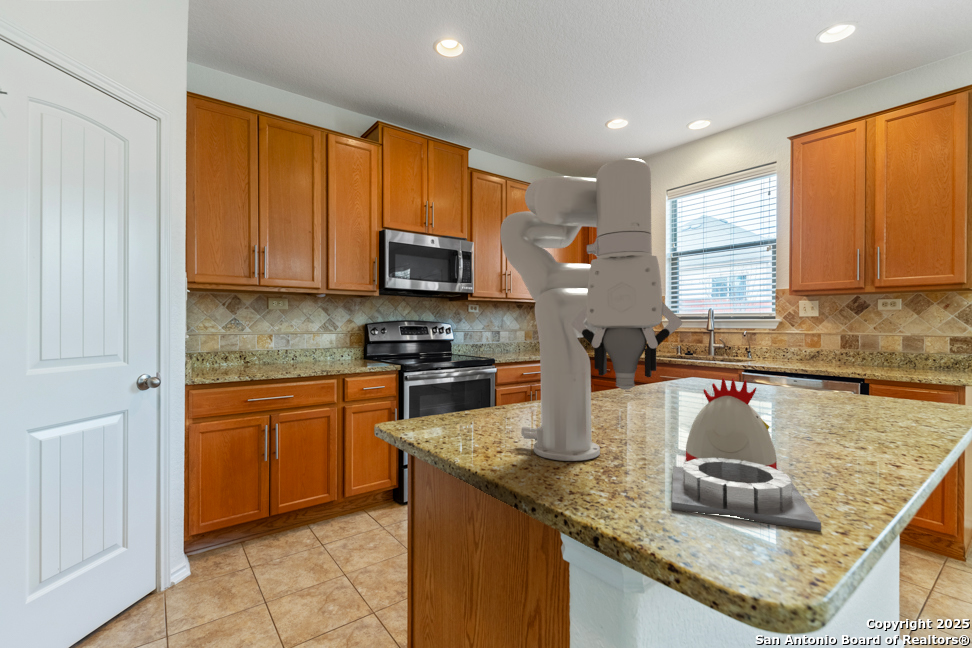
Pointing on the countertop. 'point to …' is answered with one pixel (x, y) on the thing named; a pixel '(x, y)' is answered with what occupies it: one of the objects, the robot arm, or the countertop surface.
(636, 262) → the robot arm
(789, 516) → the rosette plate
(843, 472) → the countertop surface
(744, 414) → the kitchen timer
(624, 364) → the light bulb
